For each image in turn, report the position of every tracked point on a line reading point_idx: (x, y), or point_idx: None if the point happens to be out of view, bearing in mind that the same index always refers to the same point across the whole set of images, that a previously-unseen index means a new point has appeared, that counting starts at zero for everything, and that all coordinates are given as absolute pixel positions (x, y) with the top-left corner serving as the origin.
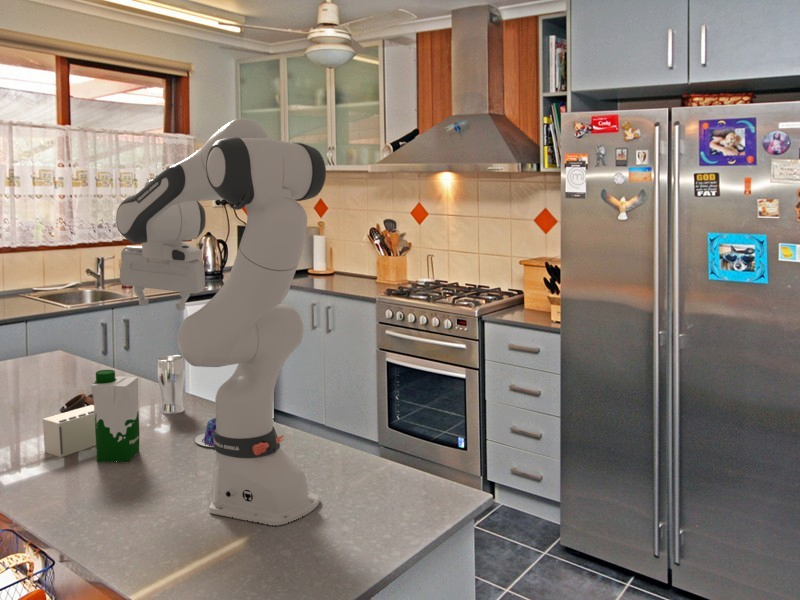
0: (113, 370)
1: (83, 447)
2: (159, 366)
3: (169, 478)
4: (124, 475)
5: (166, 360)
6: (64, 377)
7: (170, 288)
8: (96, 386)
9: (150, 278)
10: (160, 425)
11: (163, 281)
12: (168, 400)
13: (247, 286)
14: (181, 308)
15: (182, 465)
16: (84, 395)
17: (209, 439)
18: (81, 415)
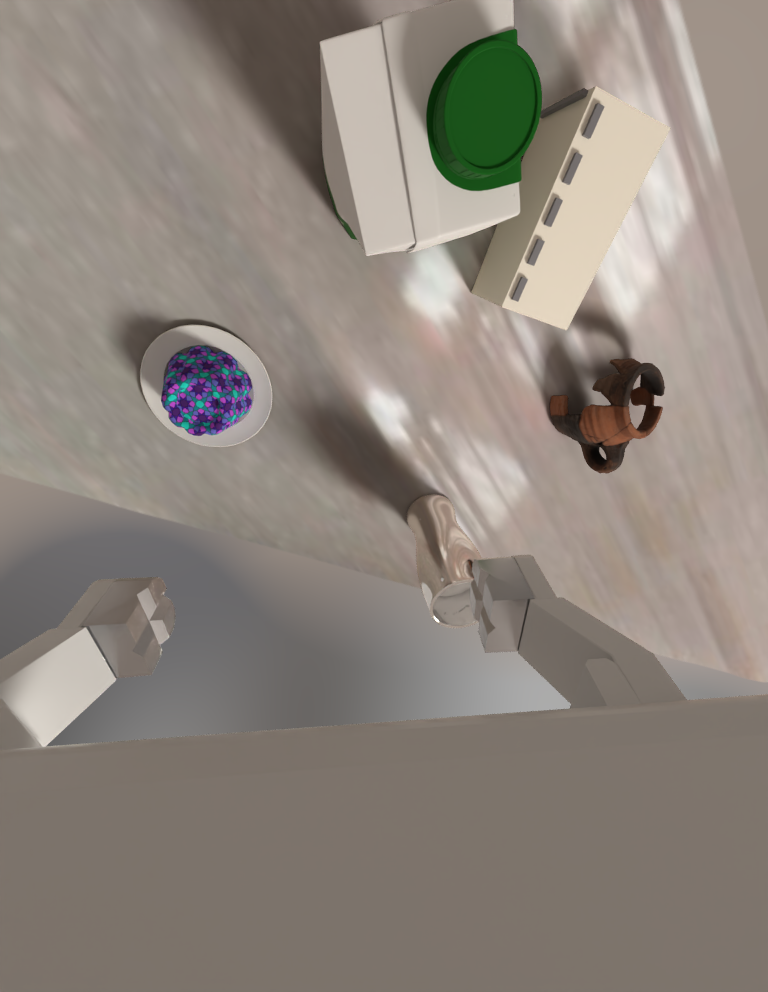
0: (464, 162)
1: None
2: None
3: (114, 22)
4: (268, 3)
5: None
6: (721, 596)
7: (39, 776)
8: None
9: (447, 934)
10: (407, 431)
11: (128, 915)
12: (434, 515)
13: None
14: (89, 591)
15: (163, 164)
16: (625, 422)
17: (212, 358)
18: (552, 205)
